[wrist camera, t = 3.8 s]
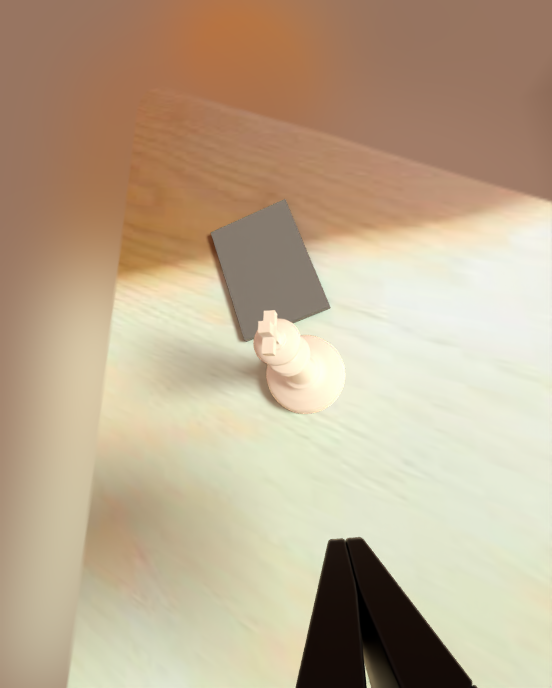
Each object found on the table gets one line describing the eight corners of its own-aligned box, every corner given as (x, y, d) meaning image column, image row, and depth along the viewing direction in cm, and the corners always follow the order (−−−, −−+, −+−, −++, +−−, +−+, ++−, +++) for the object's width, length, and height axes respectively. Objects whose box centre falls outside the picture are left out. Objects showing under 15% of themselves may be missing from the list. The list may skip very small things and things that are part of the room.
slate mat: (330, 308, 22) (329, 306, 22) (246, 341, 23) (244, 340, 23) (286, 202, 25) (285, 198, 25) (212, 235, 26) (210, 232, 26)
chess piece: (266, 413, 22) (194, 394, 12) (269, 337, 23) (206, 269, 14) (345, 414, 21) (333, 396, 11) (344, 335, 22) (332, 258, 12)
